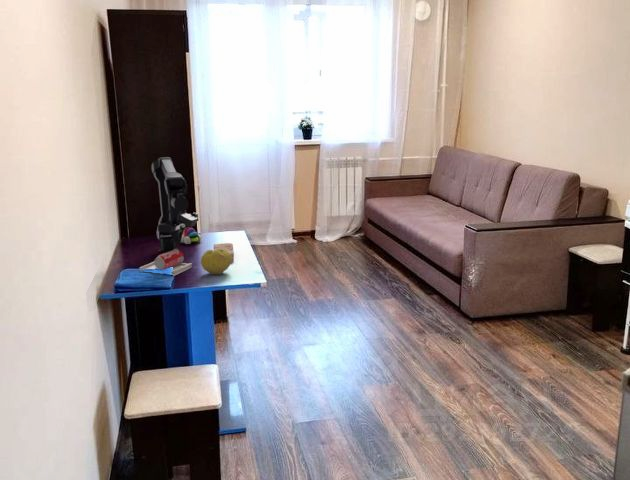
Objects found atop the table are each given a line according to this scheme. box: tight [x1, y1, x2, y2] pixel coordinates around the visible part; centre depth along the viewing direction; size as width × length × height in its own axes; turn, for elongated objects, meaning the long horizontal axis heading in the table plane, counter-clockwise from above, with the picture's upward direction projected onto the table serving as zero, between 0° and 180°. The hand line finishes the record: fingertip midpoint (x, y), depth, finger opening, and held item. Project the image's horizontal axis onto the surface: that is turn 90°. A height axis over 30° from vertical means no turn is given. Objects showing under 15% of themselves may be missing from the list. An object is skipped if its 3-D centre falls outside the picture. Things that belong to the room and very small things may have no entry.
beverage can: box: [153, 248, 185, 270], centre depth 238 cm, size 6×6×12 cm
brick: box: [213, 242, 235, 264], centre depth 254 cm, size 17×8×5 cm, turn 10°
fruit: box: [200, 249, 232, 276], centre depth 230 cm, size 11×12×10 cm
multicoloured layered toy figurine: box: [180, 227, 203, 245], centre depth 279 cm, size 8×10×7 cm
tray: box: [138, 261, 194, 277], centre depth 237 cm, size 16×13×2 cm
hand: (178, 244), depth 244 cm, fingers closed
